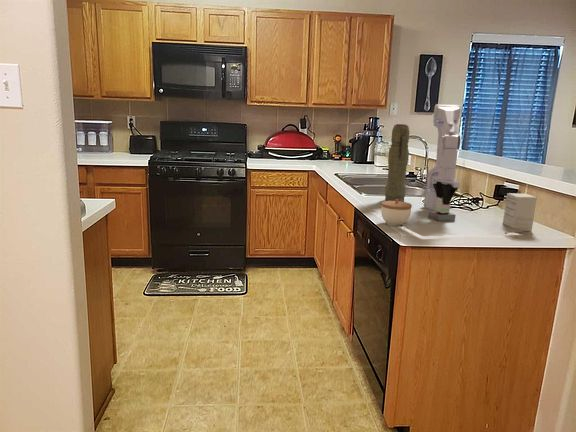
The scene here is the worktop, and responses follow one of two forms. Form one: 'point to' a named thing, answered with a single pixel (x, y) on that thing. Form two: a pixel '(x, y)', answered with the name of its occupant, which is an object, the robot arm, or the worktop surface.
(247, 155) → the worktop surface
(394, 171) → the potted cactus
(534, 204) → the supplement box
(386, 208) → the lidded jar
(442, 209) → the column
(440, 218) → the stand base
